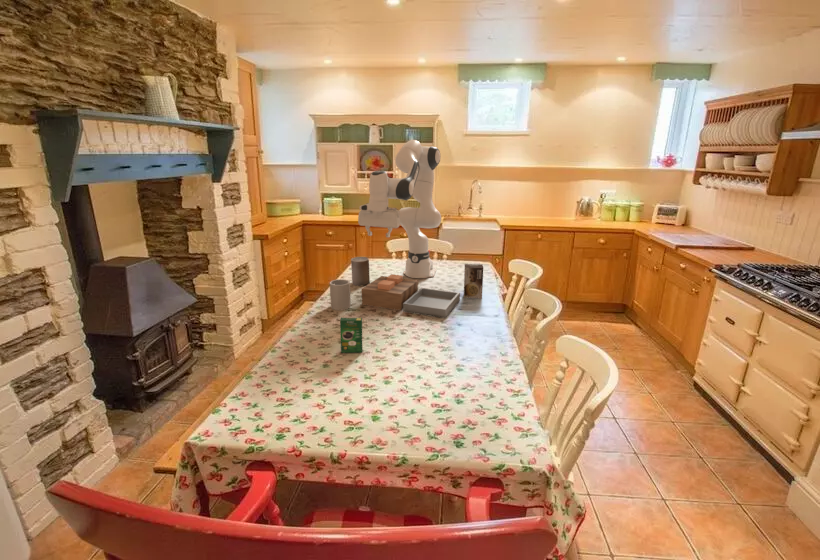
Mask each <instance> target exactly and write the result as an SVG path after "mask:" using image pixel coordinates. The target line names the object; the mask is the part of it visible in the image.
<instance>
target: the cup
mask: <svg viewBox="0 0 820 560" xmlns="http://www.w3.org/2000/svg"><path fill="white" fill-rule="evenodd" d="M350 281H351V280H349V279H342V278H341V279H339V278H338V279H333V280H331V281H330V282H329V292H330V293H329V295H330V308H331V310H334V309H335V310H334V311H346V310H348V308H349V309H350V308H351V307H352V305H351V302H352V300H351V282H350ZM345 309H346V310H345Z"/></svg>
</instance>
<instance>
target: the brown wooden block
mask: <svg viewBox="0 0 820 560" xmlns="http://www.w3.org/2000/svg"><path fill="white" fill-rule="evenodd" d="M387 277H388V275H387V276H384V275H381V276H379V277H378V278H376V279H374V280H372V282H371V281H370V283H369V284H367V285H364V286H363V287H362V288H361V305H363V306H369V307H376V308H381V307H382V308H381V309H388V308H389V310H394V309H395V311H403V303H404V302H405V301H407V300H408V299H409V298H410V297H411V296H412V295H414V294H415V293H416V292H417V291H418V290H419V280H418V279H412V278H411V279H409V278H403V281H401V282H400V283H399V284H395V286H394V287H393V288H392V289H390V290H385V289H378V283H379V282H381V281H382V280H387Z"/></svg>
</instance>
